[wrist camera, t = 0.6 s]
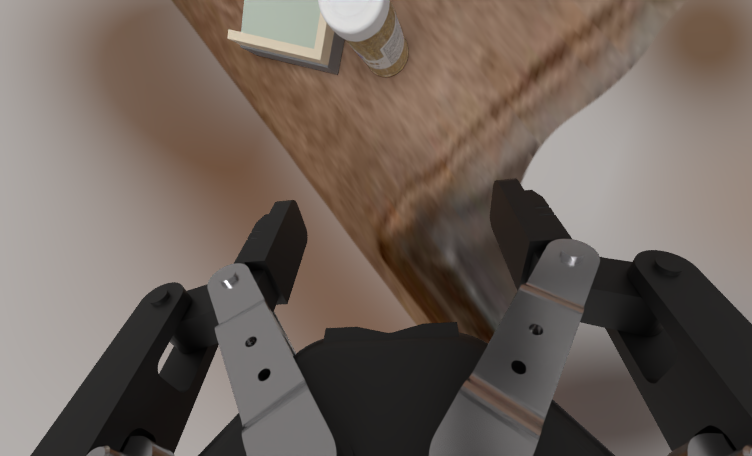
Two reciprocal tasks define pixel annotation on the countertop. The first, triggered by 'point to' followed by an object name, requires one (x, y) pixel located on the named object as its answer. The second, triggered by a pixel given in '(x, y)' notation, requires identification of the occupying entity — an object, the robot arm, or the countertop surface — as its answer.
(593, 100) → the countertop surface
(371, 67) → the sprinkles bottle
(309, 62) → the shallow square tray
